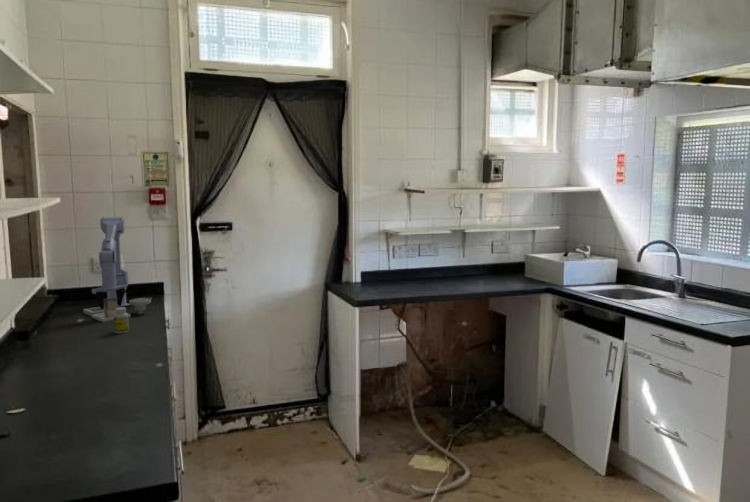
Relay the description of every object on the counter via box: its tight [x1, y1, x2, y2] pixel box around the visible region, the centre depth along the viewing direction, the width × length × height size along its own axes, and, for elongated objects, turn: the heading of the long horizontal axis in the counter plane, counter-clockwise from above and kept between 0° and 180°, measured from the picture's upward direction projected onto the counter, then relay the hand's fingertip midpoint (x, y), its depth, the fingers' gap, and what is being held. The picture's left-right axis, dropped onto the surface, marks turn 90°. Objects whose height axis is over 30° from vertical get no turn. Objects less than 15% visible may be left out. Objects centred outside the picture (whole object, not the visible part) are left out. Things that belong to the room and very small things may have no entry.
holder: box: [82, 306, 104, 318], centre depth 262 cm, size 10×10×2 cm
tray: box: [91, 313, 131, 324], centre depth 253 cm, size 12×12×2 cm
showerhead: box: [128, 297, 153, 315], centre depth 261 cm, size 9×7×10 cm
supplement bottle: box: [113, 306, 130, 334], centre depth 230 cm, size 5×5×10 cm
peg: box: [103, 298, 118, 318], centre depth 253 cm, size 4×4×8 cm
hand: (110, 307), depth 253 cm, fingers open, 7 cm apart
